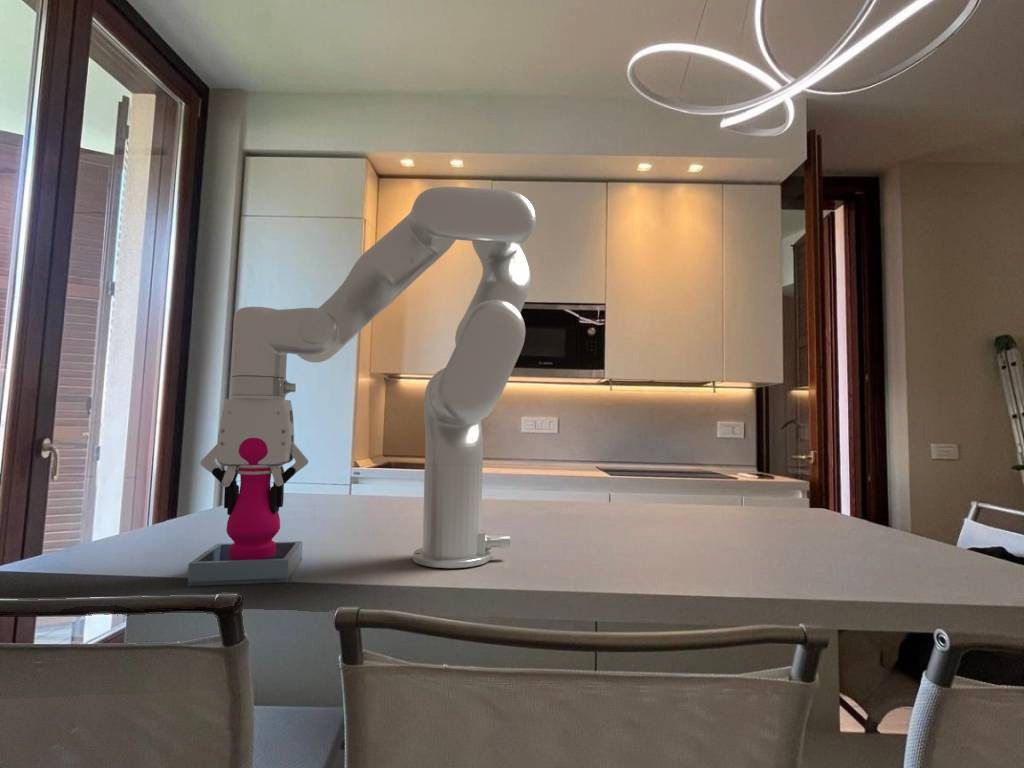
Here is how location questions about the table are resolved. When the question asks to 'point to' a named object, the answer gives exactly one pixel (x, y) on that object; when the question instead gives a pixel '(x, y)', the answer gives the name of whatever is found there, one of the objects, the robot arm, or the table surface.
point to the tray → (244, 566)
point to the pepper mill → (253, 507)
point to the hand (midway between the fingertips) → (253, 511)
